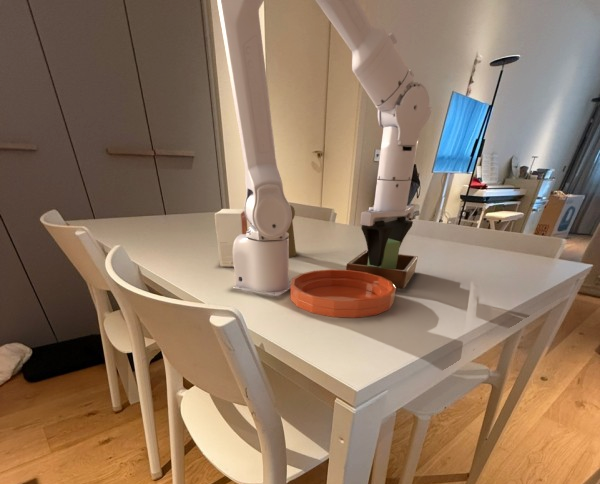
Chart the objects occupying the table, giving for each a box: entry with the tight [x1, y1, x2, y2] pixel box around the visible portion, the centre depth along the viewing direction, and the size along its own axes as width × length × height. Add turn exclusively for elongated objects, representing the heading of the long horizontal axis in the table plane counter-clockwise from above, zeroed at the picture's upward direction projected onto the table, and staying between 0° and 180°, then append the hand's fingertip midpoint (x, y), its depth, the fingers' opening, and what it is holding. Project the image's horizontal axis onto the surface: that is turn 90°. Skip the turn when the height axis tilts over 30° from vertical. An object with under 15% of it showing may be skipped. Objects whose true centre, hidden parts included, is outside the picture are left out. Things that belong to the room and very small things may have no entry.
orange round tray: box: [290, 269, 397, 319], centre depth 57 cm, size 17×17×3 cm
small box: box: [214, 208, 248, 268], centre depth 74 cm, size 8×6×10 cm
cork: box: [287, 204, 297, 258], centre depth 82 cm, size 6×6×11 cm
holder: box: [345, 249, 419, 290], centre depth 68 cm, size 11×13×4 cm
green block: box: [367, 238, 401, 269], centre depth 64 cm, size 4×4×5 cm
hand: (382, 262), depth 65 cm, fingers closed on green block, 4 cm apart
